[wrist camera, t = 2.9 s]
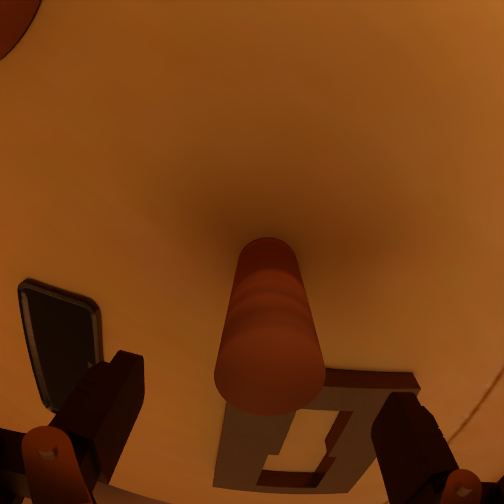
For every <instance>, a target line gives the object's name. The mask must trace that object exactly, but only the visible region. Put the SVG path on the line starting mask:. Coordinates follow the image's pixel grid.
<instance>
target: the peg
mask: <svg viewBox="0 0 504 504" xmlns="http://www.w3.org/2000/svg"><path fill="white" fill-rule="evenodd" d="M325 377H326V370H325V365H324V361H323V357H322V353H321V349H320V345H319V341H318V337H317V334H316V330H315V326H314V322H313V318H312V315H311V311H310V307H309V303H308V300H307V296H306V292H305V289H304V285H303V281H302V278H301V274H300V271H299V267H298V263H297V260H296V256H295V254H294V252H293V251H292V249H291V248H290V247H289V246H288V245H287V244H286V243H284V242H283V241H281V240H278V239H275V238H260V239H257V240H254V241H252V242H251V243H249V244H248V245H247V246H246V247H245V248H244V249H243V250H242V252H241V254H240V256H239V260H238V264H237V269H236V273H235V278H234V283H233V287H232V292H231V296H230V301H229V306H228V310H227V315H226V319H225V324H224V329H223V334H222V338H221V343H220V348H219V352H218V357H217V362H216V367H215V371H214V379H215V384H216V387H217V389H218V391H219V393H220V394H221V396H222V397H223V398H224V399H225V400H226V401H227V402H228V403H229V404H231V405H232V406H234V407H235V408H237V409H239V410H241V411H244V412H247V413H250V414H254V415H261V416H276V415H283V414H288V413H291V412H294V411H296V410H299V409H301V408H303V407H304V406H306V405H307V404H309V403H310V402H311V401H312V400H314V399H315V398H316V396H317V395H318V394H319V393H320V391H321V389H322V387H323V385H324V382H325Z"/></svg>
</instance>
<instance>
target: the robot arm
mask: <svg viewBox="0 0 504 504" xmlns="http://www.w3.org/2000/svg"><path fill="white" fill-rule="evenodd" d="M39 2H40V0H0V59H1V58H2V57H3V56H4V55H6V54H7V53H8V52H9V51H10V50H11V48H12V47H13V46H14V45H15V44H16V43H17V41H18V40H19V39H20V37H21V36H22V34H23V33H24V32H25V30H26V28H27V27H28V25H29V23H30V22H31V20H32V18H33V16H34V14H35V12H36V10H37V8H38V5H39ZM144 394H145V385H144V358H143V356H141V355H138V354H134V353H130V352H126V351H123V350H119V351H118V352H117V353H116V355H115V356H114V358H113V359H112V361H111V362H110V363H107V362H104V361H100V362H98V363H97V364H95V365H93V366H92V367H90V368H89V369H88V370H87V371H86V373H85V374H84V375H83V377H82V378H81V381H79V382H78V384H77V385H76V387H75V389H74V391H72V392H71V394H70V395H69V396H68V398H67V399H66V401H65V402H64V404H63V405H62V407H61V408H60V409H59V411H58V412H57V414H56V415H55V417H54V418H53V420H52V421H51V422H50V424H49V425H48V426H39V427H36V428H33V429H31V430H30V431H28V432H27V433H20V432H16V431H11V430H7V429H2V428H0V504H22V502H23V500H24V498H25V497H26V498H30V499H31V500H32V504H97V502H96V499H95V497H94V494H93V489H94V487H95V485H96V482H97V481H99V482H102V483H105V484H107V485H108V484H109V482H110V479H111V477H112V475H113V472H114V470H115V467H116V465H117V463H118V460H119V458H120V456H121V453H122V451H123V449H124V446H125V444H126V442H127V439H128V437H129V435H130V432H131V430H132V428H133V426H134V423H135V421H136V419H137V417H138V414H139V412H140V410H141V407H142V404H143V400H144ZM438 427H439V426H438V424H437V422H436V420H435V418H434V416H433V415H432V414H431V413H430V412H429V411H428V410H427V409H426V408H425V407H424V406H421V405H420V403H419V401H418V399H417V397H416V395H415V394H414V393H413V392H391V393H390V394H389V396H388V397H387V399H386V401H385V403H384V405H383V406H382V408H381V410H380V412H379V413H378V415H377V417H376V418H375V420H374V422H373V424H372V428H371V439H372V442H373V446H374V449H375V453H376V456H377V459H378V463H379V466H380V470H381V473H382V477H383V480H384V484H385V488H386V491H387V495H388V499H389V502H390V504H504V476H503V477H502V478H501V479H500V480H499V481H498V482H497V483H494V482H481V481H480V479H479V478H478V476H477V475H476V474H474V473H473V472H471V471H469V470H466V469H459V467H458V465H457V463H456V461H455V458H454V456H453V454H452V452H451V450H450V448H449V446H448V444H447V442H446V440H445V438H444V437H443V434H442V432H441V430H440V429H438Z"/></svg>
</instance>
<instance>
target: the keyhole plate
mask: <svg viewBox="0 0 504 504" xmlns="http://www.w3.org/2000/svg"><path fill="white" fill-rule="evenodd" d="M325 370H326V377H325V382H324V385H323V387H322V389H321V391H320V393H319V394H318V395H317V396H316V398H315V399H314V400H312V401H311V402H310V403H309V404H307V405H306V406H304V407H303V408H301V409H313V410H332V411H340V412H339V414H338V416H337V418H336V420H335V422H334V424H333V426H332V428H331V430H330V432H329V434H328V435H327V437H326V439H325V444H326V449H327V453H326V455H325V456H324V458H323V460H322V461H321V463H320V465H319V466H318V468H317V469H316V471H315V473H299V472H278V471H264V470H262V469H263V466H264V464H265V461H266V458H267V456H268V454H270V455H279V452H280V450H281V448H282V445H283V443H284V440H285V438H286V436H287V433H288V431H289V428H290V426H291V423H292V421H293V418H294V415H295V413H296V411H294V412H291V413H288V414H283V415H276V416H261V415H254V414H250V413H247V412H244V411H241V410H239V409H237V408H235V407H234V406H232V405H231V404H229V403H228V402H227V403H226V409H225V415H224V421H223V426H222V432H221V438H220V444H219V449H218V455H217V461H216V467H215V473H214V479H213V486H212V487H218V488H225V489H232V490H241V491H251V492H263V493H280V494H336V493H348V492H349V491H350V490H351V488H352V487H353V486H354V485H355V484H356V482H357V481H358V480H359V479H360V478H361V476H362V475H363V474H364V473H365V471H366V470H367V469H368V467H369V466H370V465H371V464H372V462H373V461H374V460H375V458H376V457H377V456H376V453H375V449H374V446H373V442H372V439H371V428H372V424H373V422H374V420H375V418H376V417H377V415H378V413H379V412H380V410H381V408H382V406H383V405H384V403H385V401H386V399H387V397H388V396H389V394H390V393H391V392H413V393H414V394H415V395H416V397H417V395H418V393H419V391H420V390H421V388H420V386H419V384H418V382H417V380H416V379H415V377H414V375H413V373H397V372H370V371H353V370H338V369H326V368H325Z"/></svg>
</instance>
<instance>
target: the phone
mask: <svg viewBox="0 0 504 504" xmlns="http://www.w3.org/2000/svg"><path fill="white" fill-rule="evenodd" d="M54 289H55V290H58V291H61V292H63V293H61V292H58V291H55V290H54ZM78 296H79V297H78ZM18 299H19V306H20V312H21V318H22V324H23V329H24V334H25V339H26V344H27V348H28V353H29V357H30V361H31V365H32V369H33V373H34V377H35V380H36V384H37V387H38V390H39V394H40V397H41V400H42V403H43V404H44V406H45V407H46V408H47V409H48V410H49V411H51V412H53V413H55V414H57V412H58V411H59V409H60V408H61V407H62V405H63V404H64V402H65V401H66V399H67V398H68V396H69V395H70V394H71V392H72V391H74V389H75V387H76V385H77V384H78V382H79V381H81V378H82V377H83V375H84V374H85V373H86V371H87V370H88V369H89V368H90V367H92V366H93V365H95V364H97V363H98V362H100V361H104V360H103V346H102V328H101V312H100V309H99V307H98V305H97V304H96V303H95V302H94V301H93V300H92V299H90V298H88V297H85V296H82V295H78V294H75V293H72V292H69V291H66V290H63V289H60V288H57V287H53V286H50V285H48V284H45V283H42V282H39V281H36V280H33V279H26V280H24V281H23V282H21V283H20V284H19V285H18Z"/></svg>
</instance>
